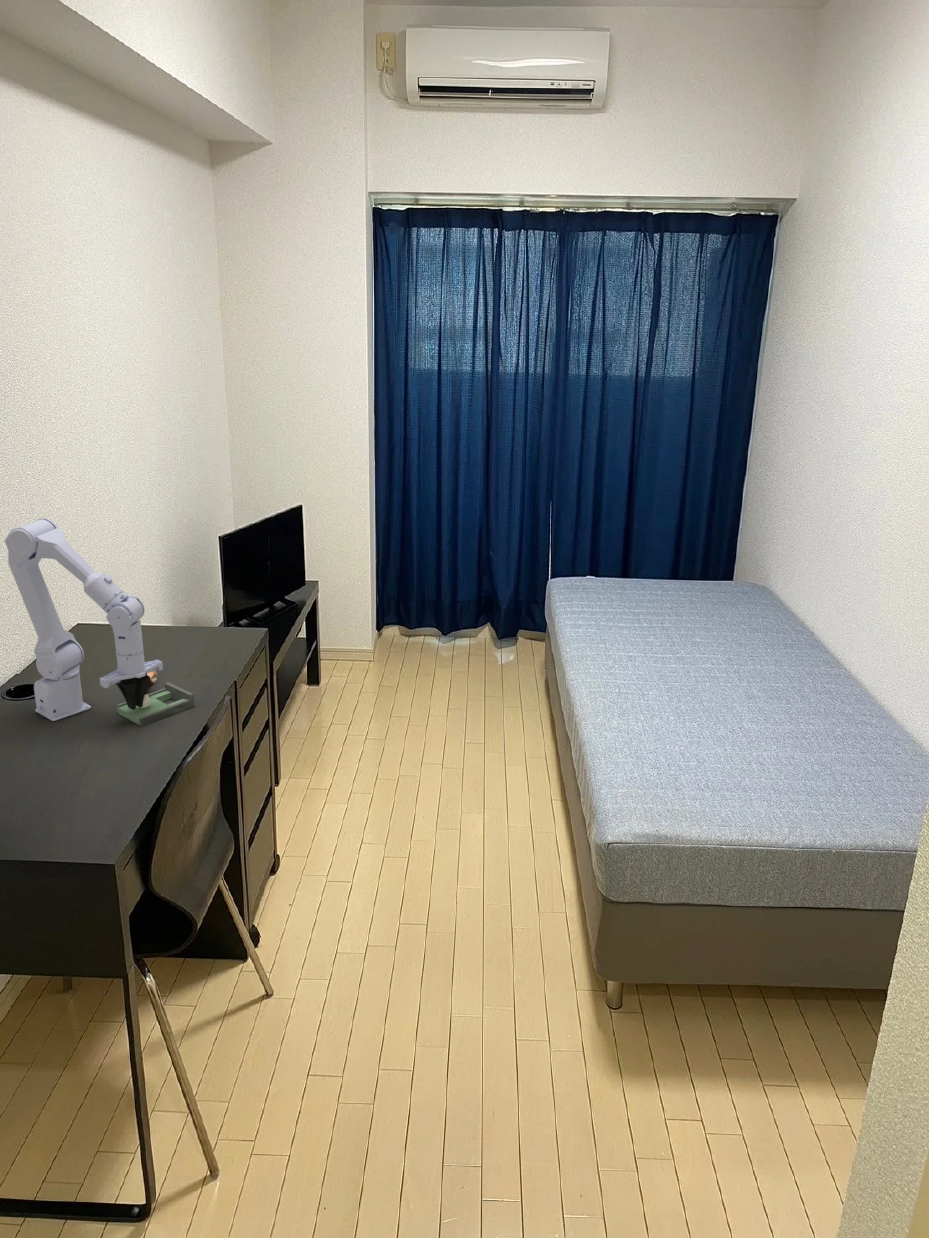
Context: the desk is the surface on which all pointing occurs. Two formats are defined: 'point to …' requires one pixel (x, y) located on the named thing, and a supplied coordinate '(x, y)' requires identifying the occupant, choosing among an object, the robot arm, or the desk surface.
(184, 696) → the green walled tray
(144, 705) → the ball
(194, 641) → the desk surface
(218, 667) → the desk surface
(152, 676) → the grandmother figurine
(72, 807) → the desk surface
